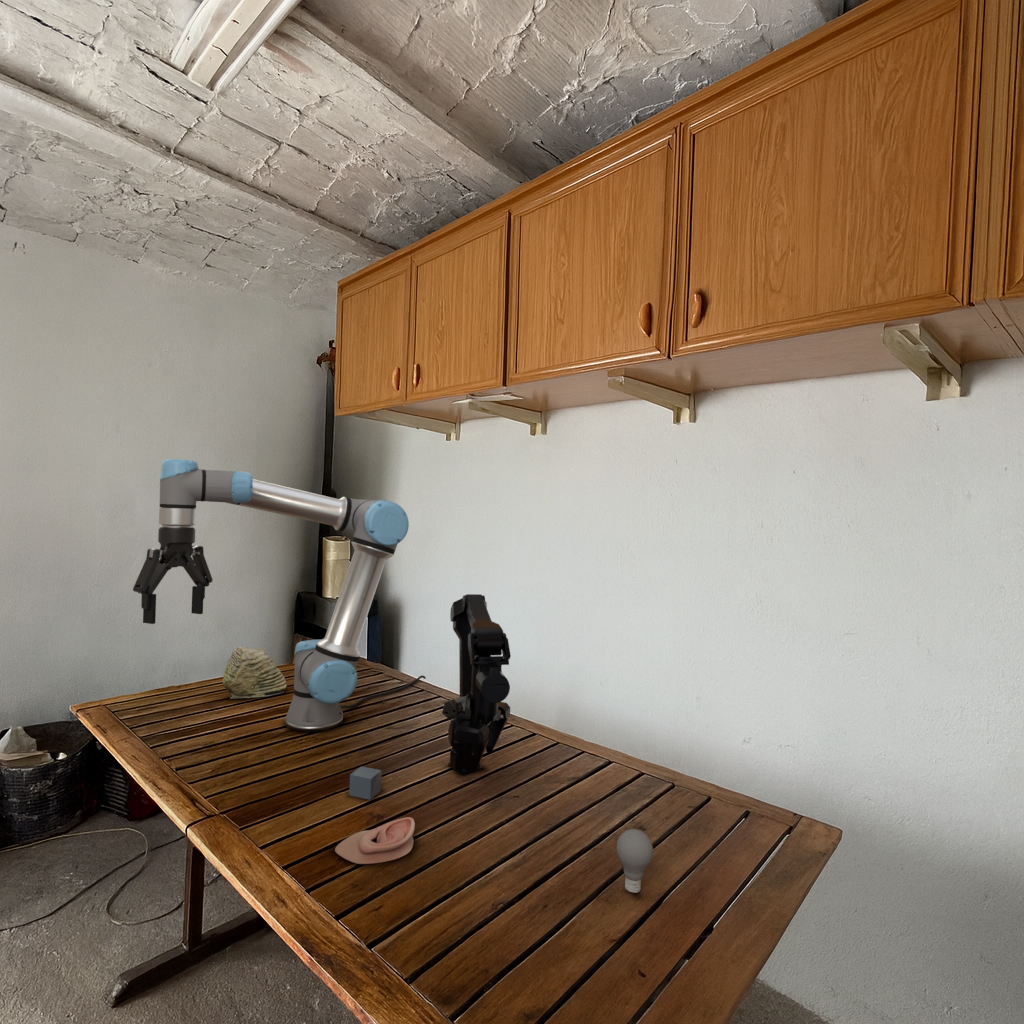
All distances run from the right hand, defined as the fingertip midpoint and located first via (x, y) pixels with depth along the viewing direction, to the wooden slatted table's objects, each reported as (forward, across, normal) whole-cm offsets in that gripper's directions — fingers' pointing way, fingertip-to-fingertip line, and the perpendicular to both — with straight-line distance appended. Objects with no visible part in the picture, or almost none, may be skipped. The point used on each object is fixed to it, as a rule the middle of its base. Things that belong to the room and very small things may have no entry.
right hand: (481, 761), depth 133 cm
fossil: (+10, -40, -90) cm, 99 cm away
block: (+10, +4, -25) cm, 27 cm away
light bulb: (+9, +18, +34) cm, 39 cm away
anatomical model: (+9, +22, -12) cm, 27 cm away
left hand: (-24, +8, -74) cm, 78 cm away
